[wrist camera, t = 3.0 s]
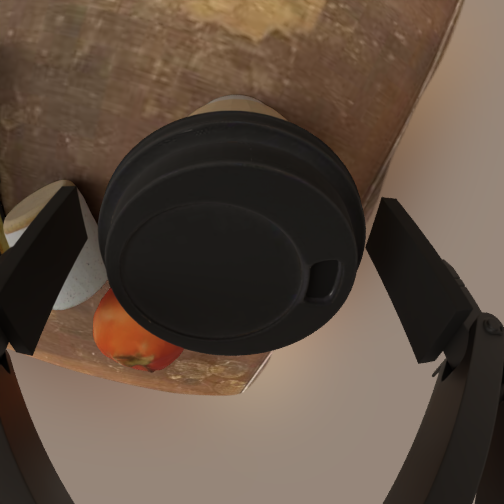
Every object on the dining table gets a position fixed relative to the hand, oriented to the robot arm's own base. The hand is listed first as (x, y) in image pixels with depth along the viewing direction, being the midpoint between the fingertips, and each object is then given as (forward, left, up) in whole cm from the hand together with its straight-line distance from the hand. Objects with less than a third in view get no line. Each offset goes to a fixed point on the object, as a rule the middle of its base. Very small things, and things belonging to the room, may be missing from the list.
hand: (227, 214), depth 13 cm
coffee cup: (0, 0, -11) cm, 11 cm away
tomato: (+8, +17, -11) cm, 22 cm away
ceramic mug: (+15, +8, -11) cm, 20 cm away
